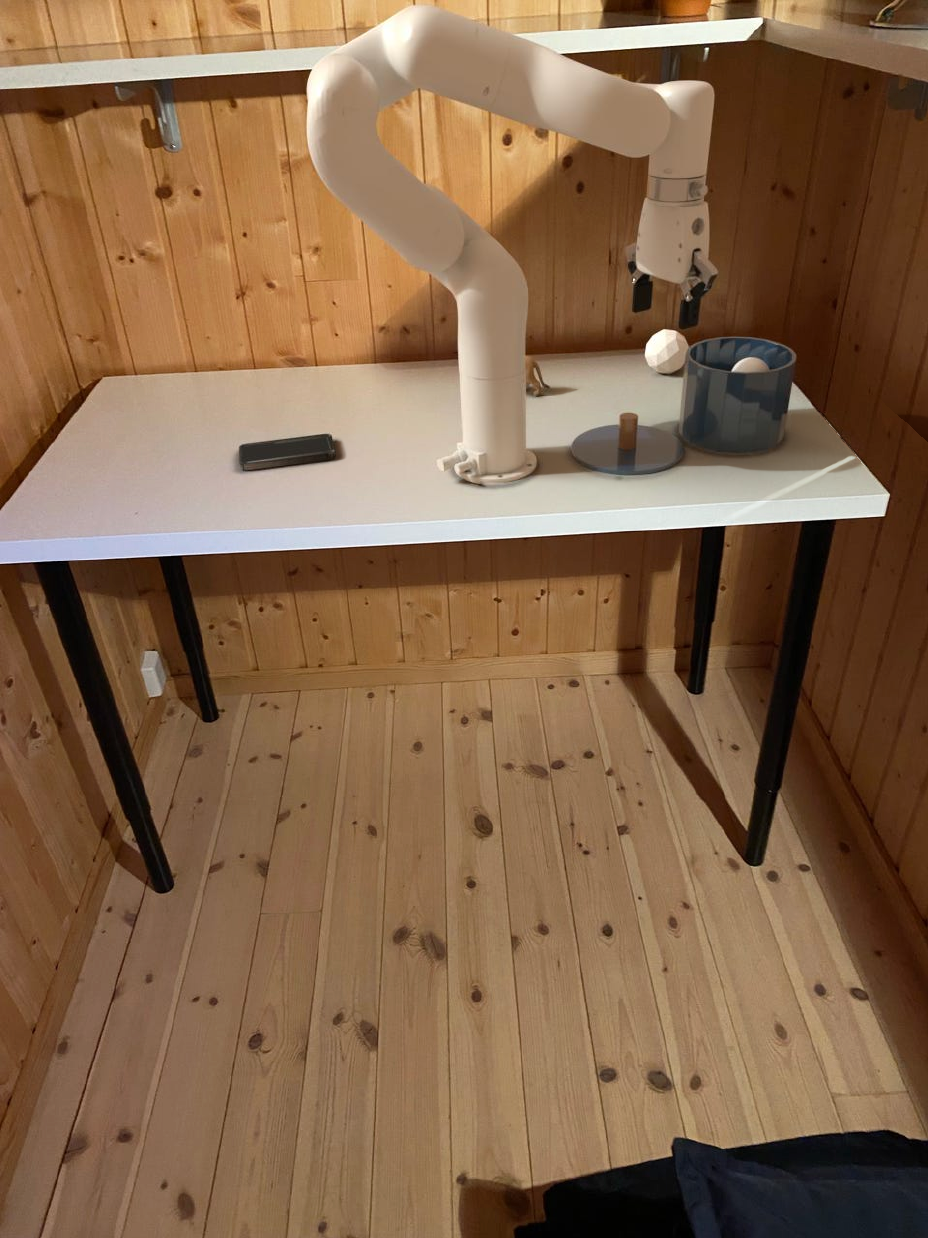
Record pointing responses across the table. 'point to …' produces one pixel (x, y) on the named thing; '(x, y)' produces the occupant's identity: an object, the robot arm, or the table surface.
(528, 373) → the lion figurine
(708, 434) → the dark blue cylindrical pot
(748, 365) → the lightbulb
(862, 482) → the table surface
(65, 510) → the table surface
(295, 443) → the phone
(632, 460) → the lid
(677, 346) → the geometric ball
